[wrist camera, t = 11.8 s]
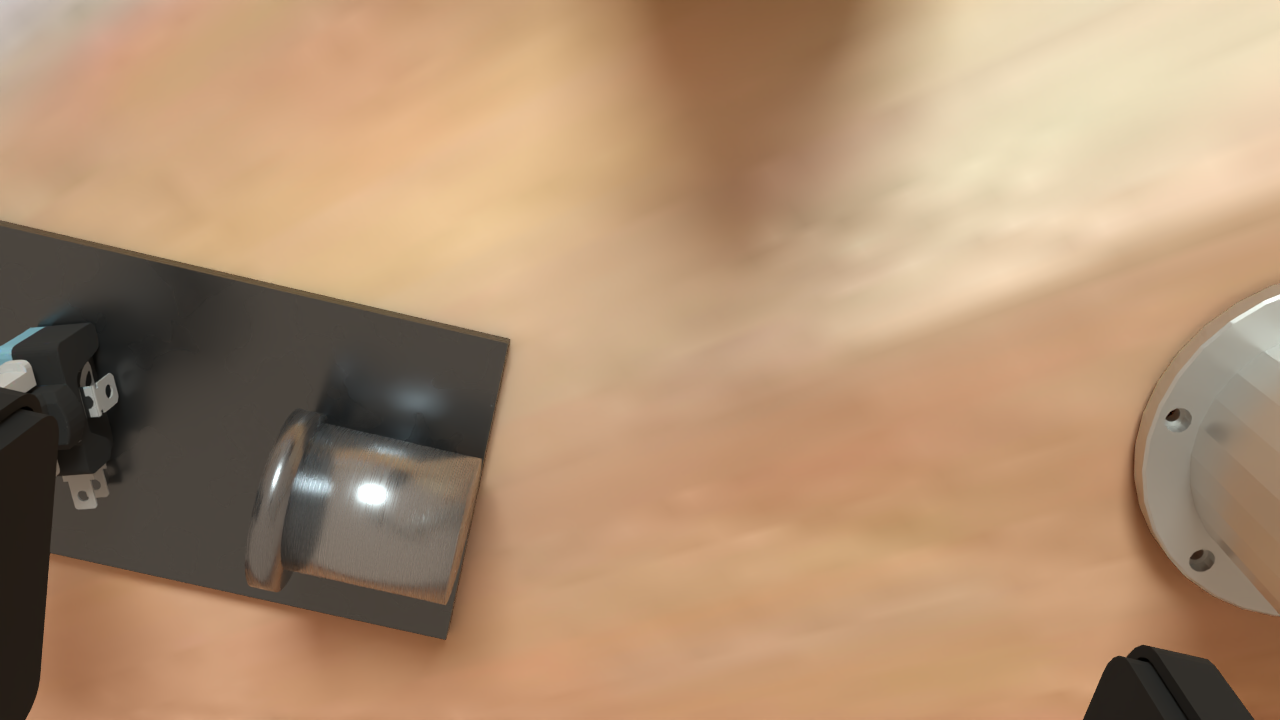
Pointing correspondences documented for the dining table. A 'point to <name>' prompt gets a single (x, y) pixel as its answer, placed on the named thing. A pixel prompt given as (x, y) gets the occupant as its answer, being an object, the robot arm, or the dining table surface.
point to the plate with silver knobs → (267, 432)
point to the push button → (67, 399)
